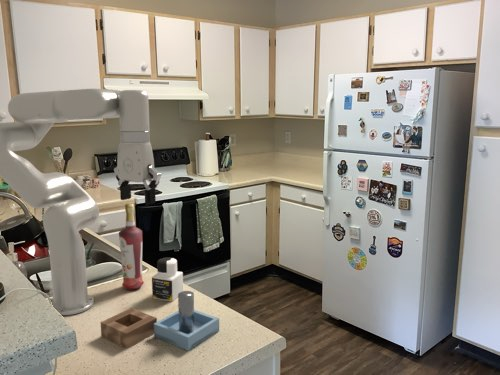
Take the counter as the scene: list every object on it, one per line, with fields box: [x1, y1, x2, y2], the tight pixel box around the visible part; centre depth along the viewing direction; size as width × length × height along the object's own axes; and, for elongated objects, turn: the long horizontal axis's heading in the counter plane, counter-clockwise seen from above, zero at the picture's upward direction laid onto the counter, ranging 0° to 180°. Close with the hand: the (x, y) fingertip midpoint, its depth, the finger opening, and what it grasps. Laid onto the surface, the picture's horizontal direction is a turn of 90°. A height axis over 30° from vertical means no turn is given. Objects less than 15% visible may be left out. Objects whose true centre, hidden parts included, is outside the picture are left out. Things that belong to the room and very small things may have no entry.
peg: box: [177, 290, 195, 334], centre depth 116 cm, size 4×4×10 cm
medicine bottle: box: [151, 257, 184, 302], centre depth 139 cm, size 7×7×12 cm
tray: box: [153, 309, 220, 352], centre depth 116 cm, size 12×12×4 cm
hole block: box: [100, 307, 158, 349], centre depth 116 cm, size 10×10×4 cm
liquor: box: [118, 202, 145, 291], centre depth 143 cm, size 7×7×28 cm
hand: (137, 201), depth 120 cm, fingers open, 9 cm apart
